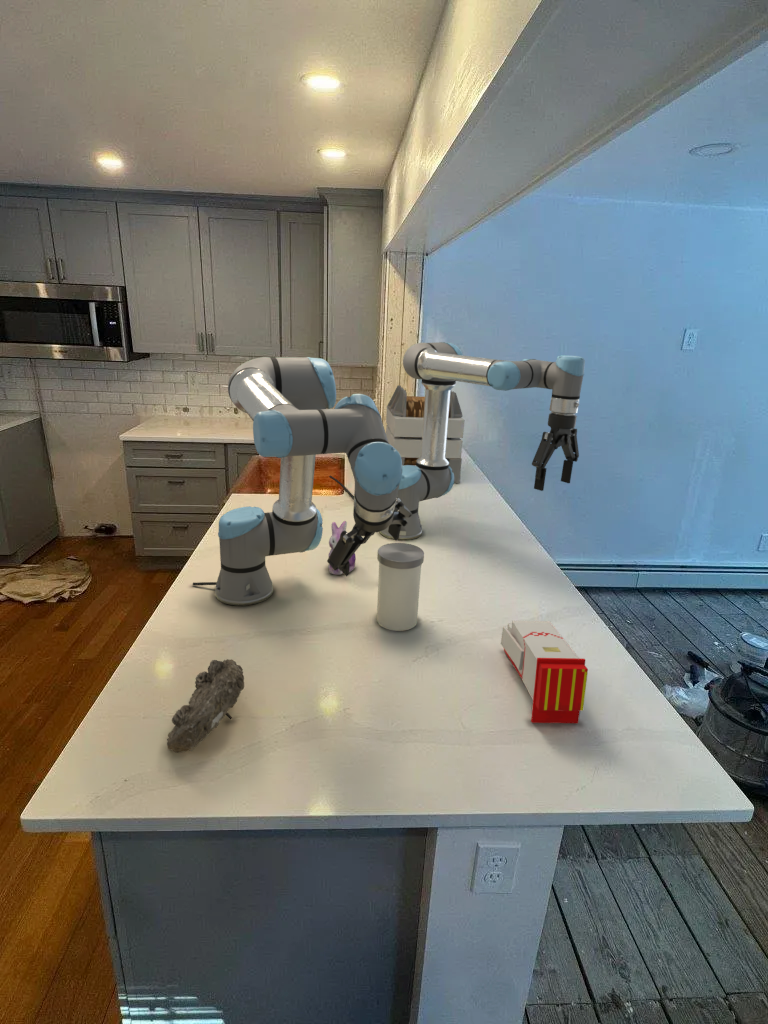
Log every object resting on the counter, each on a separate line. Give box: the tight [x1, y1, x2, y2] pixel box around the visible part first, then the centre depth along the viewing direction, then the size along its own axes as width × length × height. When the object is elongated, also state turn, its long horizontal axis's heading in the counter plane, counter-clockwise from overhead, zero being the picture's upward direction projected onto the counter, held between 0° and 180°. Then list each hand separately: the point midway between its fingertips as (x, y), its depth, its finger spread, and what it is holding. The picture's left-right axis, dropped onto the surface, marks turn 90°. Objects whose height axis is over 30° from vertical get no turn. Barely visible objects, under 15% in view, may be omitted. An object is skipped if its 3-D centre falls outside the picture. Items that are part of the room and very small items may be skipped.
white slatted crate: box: [385, 384, 465, 484], centre depth 268 cm, size 34×33×41 cm
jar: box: [376, 561, 422, 632], centre depth 141 cm, size 10×10×19 cm
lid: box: [376, 542, 425, 569], centre depth 138 cm, size 11×11×2 cm
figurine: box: [327, 520, 357, 576], centre depth 168 cm, size 9×10×15 cm
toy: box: [500, 620, 589, 724], centre depth 121 cm, size 12×13×30 cm
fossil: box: [166, 658, 245, 754], centre depth 106 cm, size 22×10×15 cm
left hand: (368, 552), depth 122 cm, fingers open, 13 cm apart
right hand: (552, 485), depth 166 cm, fingers open, 13 cm apart
